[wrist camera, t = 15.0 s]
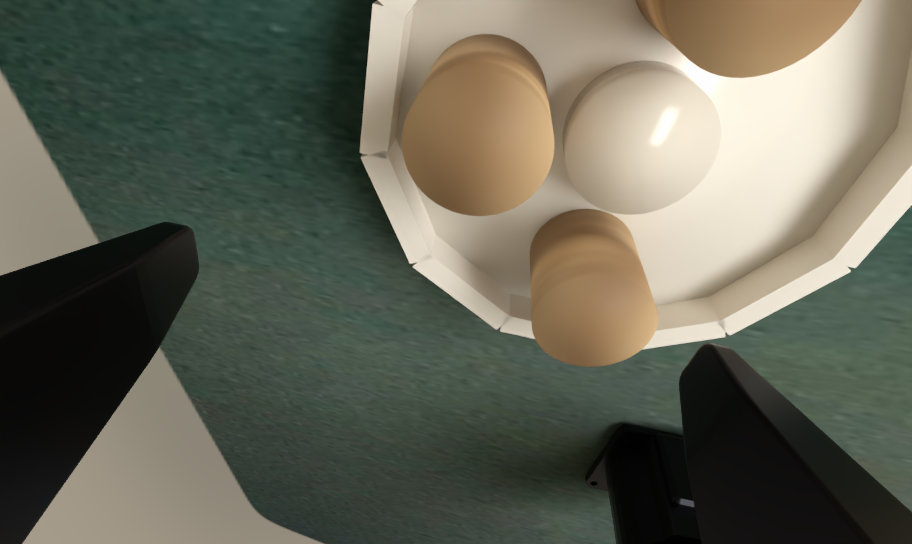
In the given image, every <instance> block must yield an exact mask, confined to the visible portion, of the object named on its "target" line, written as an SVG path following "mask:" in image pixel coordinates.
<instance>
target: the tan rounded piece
mask: <svg viewBox="0 0 912 544" xmlns="http://www.w3.org/2000/svg"><path fill="white" fill-rule="evenodd" d="M530 284H531V319H532V331H533V335H534V337H535V340H536V341H537V343H538V345H539V346H540V347H541V348H542V349H543V350H544V351H545V352H546V353H547V354H549V355H550V356H552V357H553V358H555V359H557V360H559V361H562V362H565V363H568V364H572V365H577V366H586V367H596V366H604V365H610V364H614V363H617V362H620V361H623V360H625V359H627V358H629V357H631V356H633V355H634V354H636V353H638V352H639V351H640V350H641V349H643V348H644V347H645V346H646V345H647V344H648V343H649V341H650V340H651V338H652V337H653V335H654V333H655V331H656V328H657V324H658V312H657V308H656V305H655V302H654V299H653V296H652V293H651V290H650V287H649V284H648V281H647V278H646V275H645V272H644V269H643V266H642V263H641V260H640V257H639V254H638V251H637V248H636V246H635V243H634V240H633V237H632V234H631V232H630V230H629V229H628V227H627V226H626V225H625V224H624V223H623V222H622V221H621V220H620V219H618V218H617V217H615V216H614V215H612V214H609V213H607V212H604V211H600V210H595V209H577V210H571V211H568V212H564V213H562V214H560V215H557V216H556V217H554V218H552V219H550V220H549V221H548V222H546V223H545V224H544V225H543V226H542V227H541V228H540V229H539V230H538V232H537V233H536V235H535V236H534V238H533V241H532V243H531V247H530Z"/></svg>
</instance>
